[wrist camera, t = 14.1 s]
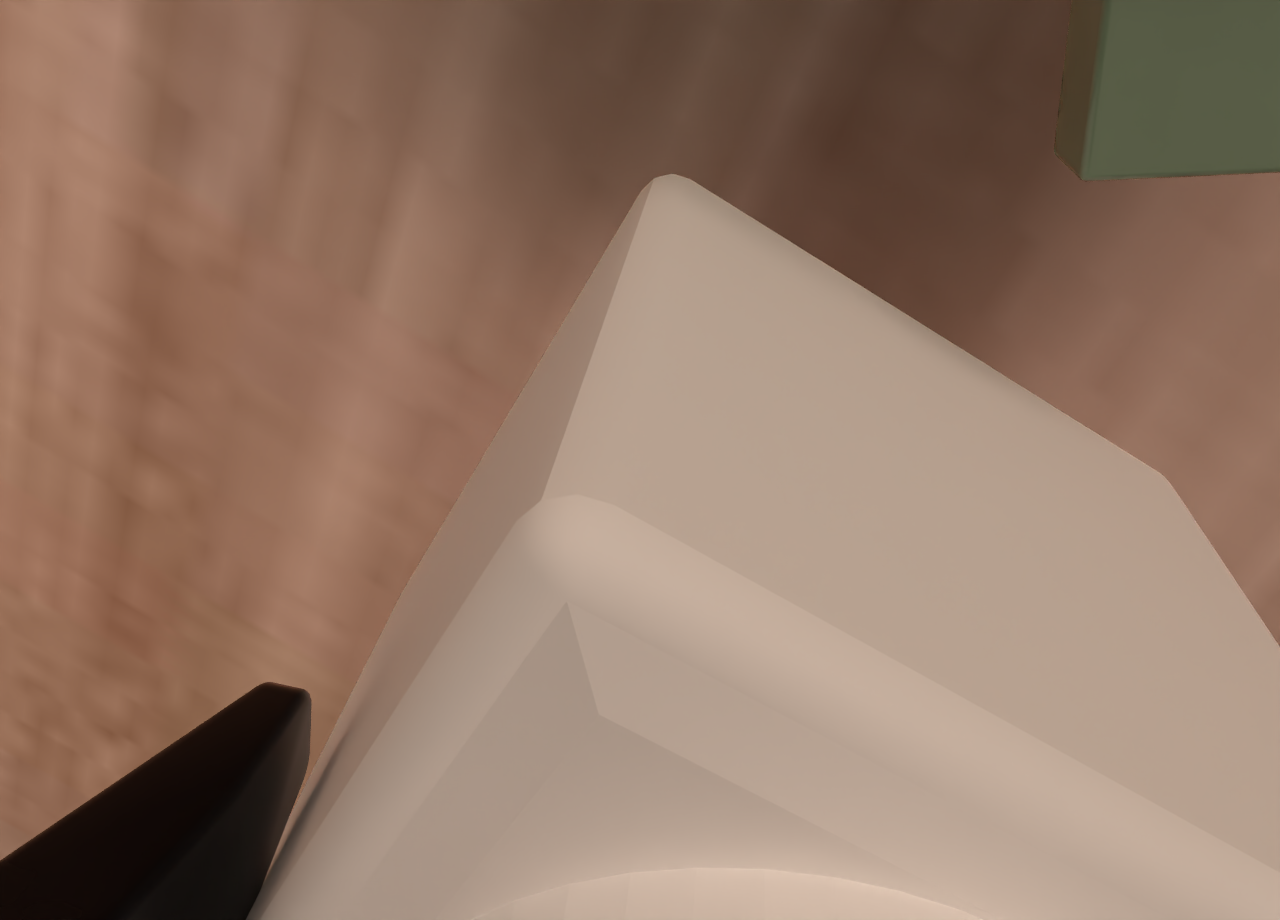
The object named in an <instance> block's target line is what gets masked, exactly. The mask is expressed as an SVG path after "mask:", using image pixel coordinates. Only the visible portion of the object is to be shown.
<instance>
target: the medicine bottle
mask: <svg viewBox="0 0 1280 920" xmlns="http://www.w3.org/2000/svg"><path fill="white" fill-rule="evenodd" d="M246 920H1280V646H1279V645H1278V643H1277V642H1276V640H1275V639H1274V637H1273V636H1272V634H1271V633H1270V631H1269V630H1268V628H1267V627H1266V625H1265V624H1264V622H1263V621H1262V619H1261V618H1260V616H1259V615H1258V613H1257V612H1256V610H1255V609H1254V607H1253V606H1252V604H1251V603H1250V601H1249V600H1248V598H1247V597H1246V595H1245V594H1244V592H1243V591H1242V589H1241V588H1240V586H1239V585H1238V583H1237V582H1236V580H1235V579H1234V577H1233V576H1232V574H1231V573H1230V571H1229V570H1228V568H1227V567H1226V565H1225V564H1224V562H1223V561H1222V559H1221V558H1220V557H1219V555H1218V554H1217V552H1216V551H1215V549H1214V548H1213V546H1212V545H1211V543H1210V542H1209V540H1208V539H1207V537H1206V536H1205V534H1204V533H1203V531H1202V530H1201V528H1200V527H1199V525H1198V524H1197V522H1196V521H1195V519H1194V518H1193V516H1192V515H1191V513H1190V512H1189V510H1188V509H1187V507H1186V506H1185V504H1184V503H1183V501H1182V500H1181V498H1180V497H1179V495H1178V494H1177V492H1176V491H1175V489H1174V488H1173V486H1172V485H1171V484H1170V483H1169V481H1168V480H1167V479H1166V478H1165V477H1164V475H1163V474H1161V473H1159V472H1158V471H1156V470H1155V469H1153V468H1151V467H1150V466H1148V465H1147V464H1145V463H1143V462H1142V461H1140V460H1139V459H1137V458H1135V457H1134V456H1132V455H1131V454H1129V453H1127V452H1126V451H1124V450H1123V449H1121V448H1119V447H1118V446H1116V445H1115V444H1113V443H1111V442H1110V441H1108V440H1107V439H1105V438H1103V437H1102V436H1100V435H1099V434H1097V433H1095V432H1094V431H1092V430H1091V429H1089V428H1087V427H1086V426H1084V425H1083V424H1081V423H1079V422H1078V421H1076V420H1075V419H1073V418H1071V417H1070V416H1068V415H1067V414H1065V413H1063V412H1062V411H1060V410H1059V409H1057V408H1055V407H1054V406H1052V405H1051V404H1049V403H1047V402H1046V401H1044V400H1043V399H1041V398H1039V397H1038V396H1036V395H1035V394H1033V393H1031V392H1030V391H1028V390H1027V389H1025V388H1023V387H1022V386H1020V385H1019V384H1017V383H1015V382H1014V381H1012V380H1011V379H1009V378H1007V377H1006V376H1004V375H1003V374H1001V373H999V372H998V371H996V370H995V369H993V368H991V367H990V366H988V365H987V364H985V363H983V362H982V361H980V360H979V359H977V358H976V357H974V356H972V355H971V354H969V353H968V352H966V351H964V350H963V349H961V348H960V347H958V346H956V345H955V344H953V343H952V342H950V341H948V340H947V339H945V338H944V337H942V336H940V335H939V334H937V333H936V332H934V331H932V330H931V329H929V328H928V327H926V326H924V325H923V324H921V323H920V322H918V321H916V320H915V319H913V318H912V317H910V316H908V315H907V314H905V313H904V312H902V311H900V310H899V309H897V308H896V307H894V306H892V305H891V304H889V303H888V302H886V301H884V300H883V299H881V298H880V297H878V296H876V295H875V294H873V293H872V292H870V291H868V290H867V289H865V288H864V287H862V286H860V285H859V284H857V283H856V282H854V281H852V280H851V279H849V278H848V277H846V276H844V275H843V274H841V273H840V272H838V271H836V270H835V269H833V268H832V267H830V266H828V265H827V264H825V263H824V262H822V261H820V260H819V259H817V258H816V257H814V256H812V255H811V254H809V253H808V252H806V251H804V250H803V249H801V248H800V247H798V246H796V245H795V244H793V243H792V242H790V241H788V240H787V239H785V238H784V237H782V236H780V235H779V234H777V233H776V232H774V231H772V230H771V229H769V228H768V227H766V226H764V225H763V224H761V223H760V222H758V221H757V220H755V219H753V218H752V217H750V216H749V215H747V214H745V213H744V212H742V211H741V210H739V209H737V208H736V207H734V206H733V205H731V204H729V203H728V202H726V201H725V200H723V199H721V198H720V197H718V196H717V195H715V194H713V193H712V192H710V191H709V190H707V189H705V188H704V187H702V186H701V185H699V184H697V183H696V182H694V181H693V180H691V179H689V178H685V177H682V176H679V175H676V174H668V175H664V176H660V177H656V178H654V179H653V180H652V181H651V182H650V183H648V184H647V185H646V186H645V187H644V188H643V189H642V190H641V192H640V193H639V195H638V197H637V198H636V200H635V202H634V203H633V205H632V207H631V208H630V210H629V212H628V213H627V215H626V217H625V219H624V220H623V222H622V224H621V225H620V227H619V229H618V230H617V232H616V234H615V235H614V237H613V239H612V240H611V242H610V244H609V245H608V247H607V249H606V250H605V252H604V254H603V255H602V257H601V259H600V260H599V262H598V264H597V266H596V267H595V269H594V271H593V272H592V274H591V276H590V277H589V279H588V281H587V282H586V284H585V286H584V287H583V289H582V291H581V292H580V294H579V296H578V297H577V299H576V301H575V302H574V304H573V306H572V307H571V309H570V311H569V312H568V314H567V316H566V318H565V319H564V321H563V323H562V324H561V326H560V328H559V329H558V331H557V333H556V334H555V336H554V338H553V339H552V341H551V343H550V344H549V346H548V348H547V349H546V351H545V353H544V354H543V356H542V358H541V359H540V361H539V363H538V365H537V366H536V368H535V370H534V371H533V373H532V375H531V376H530V378H529V380H528V381H527V383H526V385H525V386H524V388H523V390H522V391H521V393H520V395H519V396H518V398H517V400H516V401H515V403H514V405H513V406H512V408H511V410H510V411H509V413H508V415H507V417H506V418H505V420H504V422H503V423H502V425H501V427H500V428H499V430H498V432H497V433H496V435H495V437H494V438H493V440H492V442H491V443H490V445H489V447H488V448H487V450H486V452H485V453H484V455H483V457H482V458H481V460H480V462H479V463H478V465H477V467H476V469H475V470H474V472H473V474H472V475H471V477H470V479H469V480H468V482H467V484H466V485H465V487H464V489H463V490H462V492H461V494H460V495H459V497H458V499H457V500H456V502H455V504H454V505H453V507H452V509H451V510H450V512H449V514H448V516H447V517H446V519H445V521H444V522H443V524H442V526H441V527H440V529H439V531H438V532H437V534H436V536H435V537H434V539H433V541H432V542H431V544H430V546H429V547H428V549H427V551H426V552H425V554H424V556H423V557H422V559H421V561H420V562H419V564H418V566H417V568H416V569H415V571H414V573H413V574H412V576H411V578H410V579H409V581H408V583H407V584H406V586H405V588H404V589H403V591H402V593H401V595H400V597H399V599H398V601H397V603H396V605H395V607H394V609H393V611H392V613H391V615H390V617H389V619H388V621H387V623H386V625H385V627H384V629H383V631H382V633H381V635H380V637H379V639H378V641H377V643H376V645H375V647H374V649H373V651H372V653H371V655H370V657H369V659H368V661H367V663H366V665H365V667H364V669H363V671H362V673H361V675H360V677H359V679H358V681H357V683H356V685H355V687H354V689H353V691H352V693H351V695H350V697H349V699H348V701H347V703H346V705H345V707H344V709H343V711H342V713H341V715H340V717H339V719H338V721H337V723H336V725H335V727H334V729H333V731H332V733H331V735H330V737H329V739H328V741H327V743H326V745H325V747H324V749H323V751H322V753H321V755H320V757H319V759H318V761H317V763H316V765H315V767H314V769H313V771H312V773H311V775H310V777H309V779H308V781H307V783H306V785H305V787H304V789H303V791H302V793H301V795H300V797H299V799H298V801H297V803H296V805H295V807H294V809H293V811H292V813H291V815H290V817H289V819H288V821H287V823H286V826H285V829H284V831H283V834H282V836H281V839H280V841H279V844H278V847H277V849H276V852H275V854H274V857H273V859H272V862H271V864H270V867H269V870H268V872H267V875H266V877H265V880H264V882H263V885H262V888H261V890H260V892H259V894H258V896H257V898H256V900H255V902H254V904H253V906H252V908H251V910H250V912H249V914H248V916H247V918H246Z"/></svg>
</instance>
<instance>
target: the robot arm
mask: <svg viewBox="0 0 1280 920" xmlns="http://www.w3.org/2000/svg"><path fill="white" fill-rule="evenodd" d="M310 729H311V698H310V694H309V693H308V692H307V691H306V690H304V689H300V688H296V687H291V686H287V685H282V684H277V683H272V682H267V683H263V684H261V685H259V686H257V687H255V688H254V689H252V690H251V691H249V692H248V693H246V694H245V695H244V696H242V697H241V698H239V699H238V700H236V701H235V702H233V703H232V704H230V705H229V706H227V707H226V708H224V709H223V710H221V711H220V712H218V713H217V714H216V715H214V716H213V717H211V718H210V719H208V720H207V721H205V722H204V723H202V724H201V725H199V726H198V727H196V728H195V729H193V730H192V731H190V732H189V733H188V734H186V735H185V736H183V737H182V738H180V739H179V740H177V741H176V742H174V743H173V744H171V745H170V746H168V747H167V748H165V749H164V750H162V751H161V752H160V753H158V754H157V755H155V756H154V757H152V758H151V759H149V760H148V761H146V762H145V763H143V764H142V765H140V766H139V767H137V768H136V769H134V770H133V771H132V772H130V773H129V774H127V775H126V776H124V777H123V778H121V779H120V780H118V781H117V782H115V783H114V784H112V785H111V786H109V787H108V788H106V789H105V790H104V791H102V792H101V793H99V794H98V795H96V796H95V797H93V798H92V799H90V800H89V801H87V802H86V803H84V804H83V805H81V806H80V807H78V808H77V809H76V810H74V811H73V812H71V813H70V814H68V815H67V816H65V817H64V818H62V819H61V820H59V821H58V822H56V823H55V824H53V825H52V826H51V827H49V828H48V829H46V830H45V831H43V832H42V833H40V834H39V835H37V836H36V837H34V838H33V839H31V840H30V841H28V842H27V843H25V844H24V845H23V846H21V847H20V848H18V849H17V850H15V851H14V852H12V853H11V854H9V855H8V856H6V857H5V858H3V859H2V860H0V920H246V918H247V916H248V914H249V912H250V910H251V908H252V906H253V904H254V902H255V900H256V898H257V896H258V894H259V892H260V890H261V888H262V885H263V882H264V880H265V877H266V875H267V872H268V870H269V867H270V864H271V862H272V859H273V857H274V854H275V852H276V849H277V847H278V844H279V841H280V839H281V836H282V834H283V831H284V829H285V826H286V823H287V821H288V818H289V816H290V813H291V811H292V808H293V805H294V803H295V800H296V798H297V795H298V793H299V790H300V787H301V785H302V782H303V780H304V777H305V773H306V770H307V766H308V761H309V754H310Z"/></svg>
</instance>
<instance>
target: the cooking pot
mask: <svg viewBox="0 0 1280 920" xmlns="http://www.w3.org/2000/svg"><path fill="white" fill-rule="evenodd" d="M1054 152H1055V155H1056V156H1057V157H1058V158H1059V159H1060V160H1061V161H1062V162H1063V163H1064V164H1065V165H1066V166H1067V167H1068V168H1069V169H1070V170H1071V171H1073V172H1074V173H1075V174H1076V175H1077V176H1078V177H1079V178H1080V179H1081V180H1084V181H1105V180H1127V179H1148V178H1170V177H1191V176H1213V175H1235V174H1256V173H1278V172H1280V0H1072V2H1071V10H1070V18H1069V27H1068V35H1067V43H1066V52H1065V60H1064V69H1063V77H1062V85H1061V94H1060V102H1059V110H1058V119H1057V127H1056V136H1055V144H1054Z"/></svg>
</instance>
